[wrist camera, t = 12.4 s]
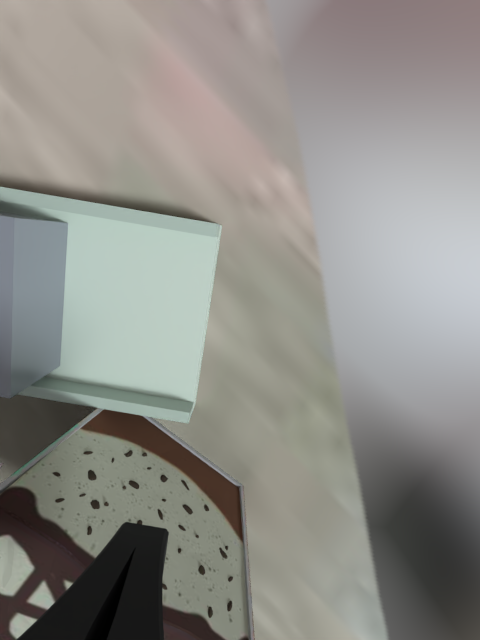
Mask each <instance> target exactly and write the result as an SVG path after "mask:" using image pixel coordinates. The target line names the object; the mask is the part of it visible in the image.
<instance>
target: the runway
mask: <svg viewBox="0 0 480 640" xmlns="http://www.w3.org/2000/svg"><path fill="white" fill-rule="evenodd" d="M0 211H2V212H7V213H13V214H19V215H25V216H31V217H36V218H42V219H48V220H54V221H60V222H66V223H68V236H67V253H66V271H65V289H64V307H63V325H62V342H61V360H60V366H59V367H58V368H56V369H55V370H53V371H52V372H50V373H49V374H47V375H46V376H44V377H43V378H41V379H39V380H38V381H36V382H35V383H33V384H32V385H30V386H29V387H27V388H26V389H24V390H23V391H21V392H20V393H18V395H24V396H30V397H36V398H42V399H48V400H53V401H59V402H65V403H71V404H77V405H83V406H89V407H94V408H100V409H106V410H112V411H118V412H124V413H130V414H136V415H141V416H147V417H153V418H159V419H165V420H171V421H177V422H182V423H189V420H190V418H191V415H192V412H193V409H194V406H195V403H196V396H197V389H198V383H199V376H200V369H201V363H202V356H203V349H204V343H205V336H206V329H207V323H208V316H209V309H210V303H211V296H212V289H213V283H214V276H215V269H216V263H217V256H218V249H219V243H220V236H221V229H222V226H221V225H219V224H216V223H210V222H204V221H198V220H192V219H186V218H181V217H175V216H169V215H163V214H157V213H151V212H145V211H140V210H134V209H128V208H122V207H116V206H110V205H104V204H99V203H93V202H87V201H81V200H75V199H69V198H64V197H58V196H52V195H46V194H40V193H34V192H28V191H23V190H17V189H11V188H5V187H0Z"/></svg>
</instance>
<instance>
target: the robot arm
mask: <svg viewBox="0 0 480 640" xmlns="http://www.w3.org/2000/svg"><path fill="white" fill-rule="evenodd" d="M168 536H169V532H168V531H167V529H165V528H160V527H154V526H148V525H142V524H136V523H130V522H125V523H123V524H122V525H121V527H120V528H119V529H118V531H117V532H116V533H115V535H114V536H113V537H112V539H111V540H110V541H109V542H108V544H107V545H106V546H105V547H104V549H103V550H102V551H101V552H100V553H99V554H98V556H97V557H96V558H95V559H94V560H93V562H92V563H91V564H90V565H89V566H88V567H87V568H86V569H85V571H84V572H83V573H82V574H81V575H80V576H79V577H78V578H77V580H76V581H75V582H74V583H73V584H72V585H71V586H70V587H69V588H68V589H67V590H66V591H65V592H64V593H63V594H62V595H61V596H60V597H59V599H58V600H57V601H56V602H55V603H54V604H53V605H52V606H51V607H50V608H49V609H48V610H47V611H46V612H45V613H44V614H43V615H42V616H41V617H40V618H39V619H38V620H37V621H36V622H35V623H34V624H32V625H31V626H30V627H29V628H28V629H27V630H26V631H25V632H24V633H23V634H22V635H21V636H20V637H19V638H18V639H16V640H164V629H163V607H162V580H163V570H164V563H165V557H166V550H167V543H168Z"/></svg>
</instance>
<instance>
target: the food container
mask: <svg viewBox="0 0 480 640" xmlns="http://www.w3.org/2000/svg"><path fill="white" fill-rule="evenodd" d="M2 465H3V463H1V462H0V468H1V467H2ZM125 522H130V523H136V524H142V525H148V526H154V527H160V528H165V529H167V531H168V532H169V536H168V543H167V550H166V557H165V563H164V570H163V580H162V607H163V629H164V640H255V638H254V624H253V611H252V597H251V583H250V569H249V556H248V542H247V528H246V514H245V501H244V487H243V485H242V484H240V483H239V482H238V481H236V480H235V479H234V478H232V477H231V476H230V475H228V474H227V473H226V472H224V471H223V470H222V469H220V468H219V467H218V466H216V465H215V464H214V463H212V462H211V461H210V460H208V459H207V458H206V457H204V456H203V455H201V454H200V453H199V452H197V451H196V450H195V449H193V448H192V447H191V446H189V445H188V444H187V443H185V442H184V441H183V440H181V439H180V438H179V437H177V436H176V435H175V434H173V433H172V432H171V431H169V430H168V429H167V428H165V427H164V426H163V425H161V424H160V423H159V422H157V421H156V420H155V419H153V418H152V417H147V416H141V415H136V414H130V413H124V412H118V411H112V410H106V409H100V408H97V409H96V410H95V411H93V412H92V413H91V414H89V415H88V416H87V417H86V418H84V419H83V420H82V421H80V422H79V423H78V424H77V425H75V426H74V427H73V428H71V429H70V430H69V431H68V432H66V433H65V434H64V435H62V436H61V437H60V438H59V439H57V440H56V441H55V442H53V443H52V444H51V445H50V446H48V447H47V448H46V449H44V450H43V451H42V452H41V453H39V454H38V455H37V456H35V457H34V458H33V459H32V460H30V461H29V462H28V463H26V464H25V465H24V466H23V467H21V468H20V469H19V470H17V471H16V472H15V473H14V474H12V475H11V476H10V477H8V478H7V479H6V480H5V481H3V482H2V483H1V484H0V640H16V639H18V638H19V637H20V636H21V635H22V634H23V633H24V632H25V631H26V630H27V629H28V628H29V627H30V626H31V625H32V624H34V623H35V622H36V621H37V620H38V619H39V618H40V617H41V616H42V615H43V614H44V613H45V612H46V611H47V610H48V609H49V608H50V607H51V606H52V605H53V604H54V603H55V602H56V601H57V600H58V599H59V597H60V596H61V595H62V594H63V593H64V592H65V591H66V590H67V589H68V588H69V587H70V586H71V585H72V584H73V583H74V582H75V581H76V580H77V578H78V577H79V576H80V575H81V574H82V573H83V572H84V571H85V569H86V568H87V567H88V566H89V565H90V564H91V563H92V562H93V560H94V559H95V558H96V557H97V556H98V554H99V553H100V552H101V551H102V550H103V549H104V547H105V546H106V545H107V544H108V542H109V541H110V540H111V539H112V537H113V536H114V535H115V533H116V532H117V531H118V529H119V528H120V527H121V525H122V524H123V523H125Z"/></svg>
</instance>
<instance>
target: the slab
mask: <svg viewBox="0 0 480 640" xmlns="http://www.w3.org/2000/svg"><path fill="white" fill-rule="evenodd" d="M67 236H68V223H66V222H60V221H54V220H48V219H42V218H36V217H31V216H25V215H19V214H13V213H7V212H2V211H0V397H5V398H12V397H13V396H15V395H16V394H18V393H20V392H21V391H23V390H24V389H26V388H27V387H29V386H30V385H32V384H33V383H35V382H36V381H38V380H39V379H41V378H43V377H44V376H46V375H47V374H49V373H50V372H52V371H53V370H55V369H56V368H58V367H59V366H60V360H61V342H62V325H63V307H64V289H65V271H66V253H67Z"/></svg>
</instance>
